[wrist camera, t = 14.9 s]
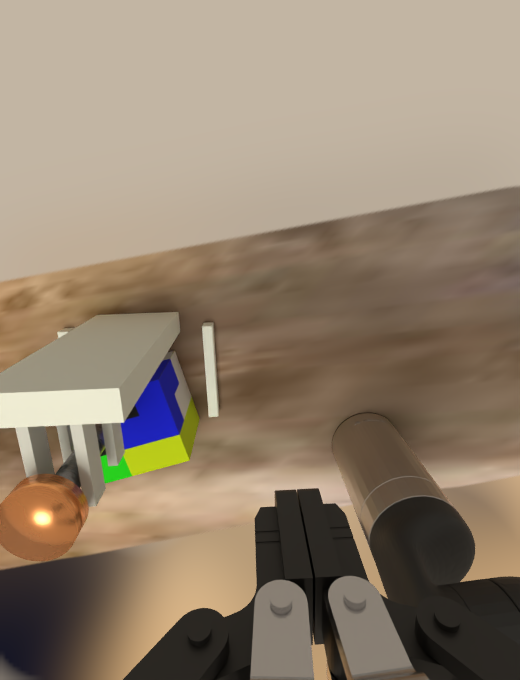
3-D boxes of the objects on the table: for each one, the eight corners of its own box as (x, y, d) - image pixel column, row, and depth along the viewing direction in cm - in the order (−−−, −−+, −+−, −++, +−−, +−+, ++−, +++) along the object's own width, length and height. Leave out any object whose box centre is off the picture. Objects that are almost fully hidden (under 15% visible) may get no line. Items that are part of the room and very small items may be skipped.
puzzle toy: (174, 350, 50) (158, 379, 41) (199, 418, 53) (189, 460, 44) (100, 371, 51) (67, 405, 41) (129, 437, 54) (103, 483, 44)
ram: (144, 432, 40) (82, 559, 25) (94, 434, 40) (1, 563, 25) (138, 387, 39) (69, 491, 24) (87, 389, 39) (-17, 495, 24)
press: (219, 409, 53) (198, 551, 30) (80, 415, 52) (-51, 565, 29) (212, 310, 49) (183, 385, 26) (62, 316, 49) (-103, 397, 26)
